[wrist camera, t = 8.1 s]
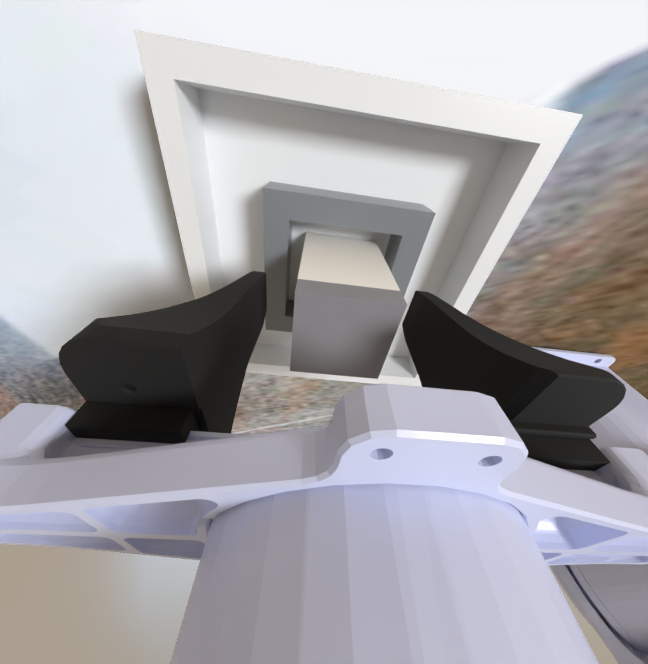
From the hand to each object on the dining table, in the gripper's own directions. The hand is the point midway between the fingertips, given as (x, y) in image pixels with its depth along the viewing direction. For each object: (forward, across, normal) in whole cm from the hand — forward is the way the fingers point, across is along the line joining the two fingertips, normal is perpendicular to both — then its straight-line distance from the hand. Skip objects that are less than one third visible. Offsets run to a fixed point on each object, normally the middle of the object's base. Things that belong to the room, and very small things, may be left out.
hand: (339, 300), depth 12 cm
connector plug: (+4, 0, 0) cm, 4 cm away
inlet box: (+5, 0, 0) cm, 5 cm away
